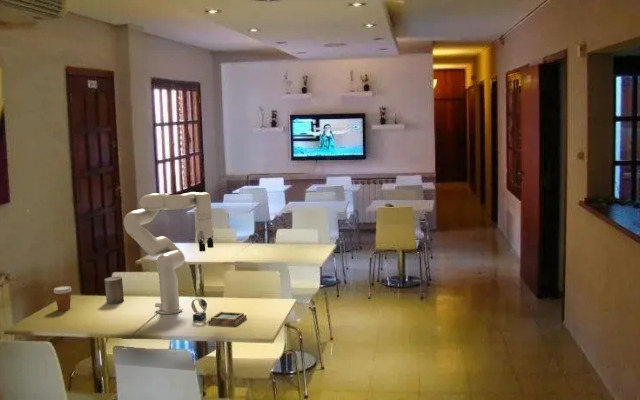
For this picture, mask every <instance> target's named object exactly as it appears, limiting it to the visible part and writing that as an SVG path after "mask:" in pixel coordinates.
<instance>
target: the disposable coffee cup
mask: <svg viewBox="0 0 640 400" xmlns="http://www.w3.org/2000/svg"><path fill="white" fill-rule="evenodd" d="M53 293H54V297H55V301H56V306H57V311H61V312H64V311H68V310H70V309H71V301H72V300H71V299H72V298H71V293H72V287H71V286H70V285H65V286H64V285H61V286H57V287H54V288H53Z"/></svg>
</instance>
